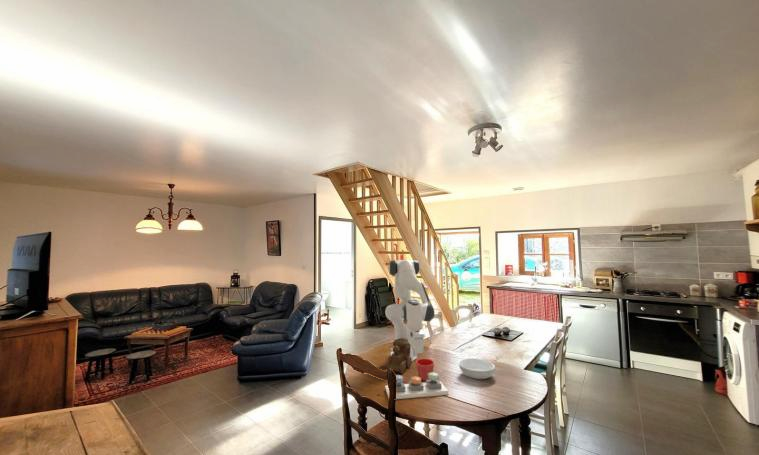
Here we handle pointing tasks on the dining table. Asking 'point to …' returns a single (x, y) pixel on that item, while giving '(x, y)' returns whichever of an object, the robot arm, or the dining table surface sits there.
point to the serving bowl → (477, 368)
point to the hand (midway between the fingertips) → (415, 356)
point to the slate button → (399, 379)
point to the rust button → (415, 380)
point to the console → (419, 389)
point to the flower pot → (424, 368)
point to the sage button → (433, 376)
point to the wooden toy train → (400, 356)
